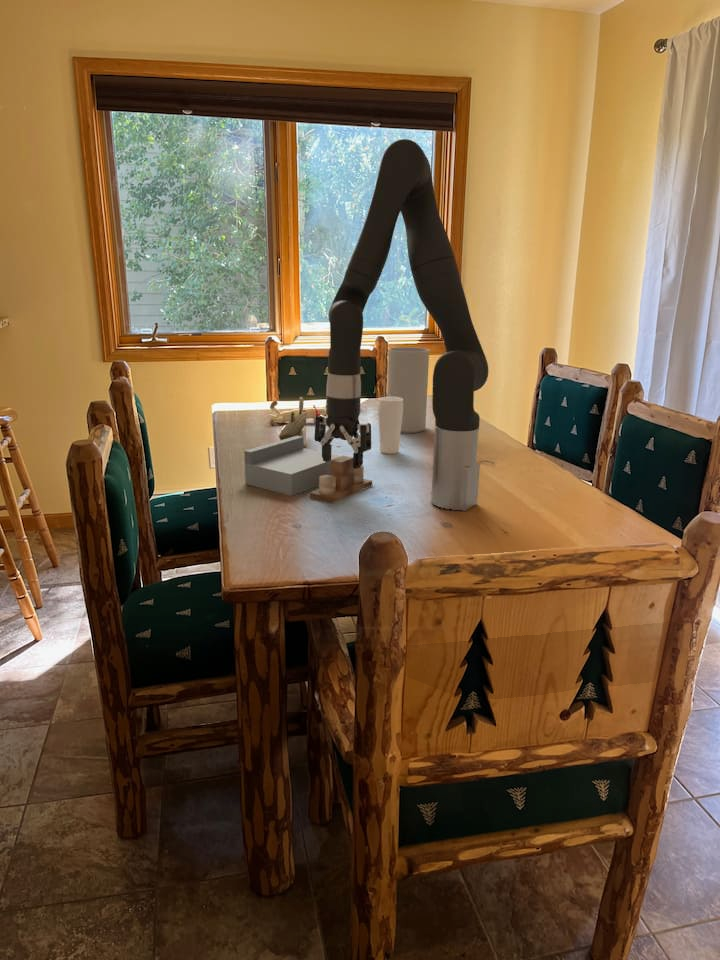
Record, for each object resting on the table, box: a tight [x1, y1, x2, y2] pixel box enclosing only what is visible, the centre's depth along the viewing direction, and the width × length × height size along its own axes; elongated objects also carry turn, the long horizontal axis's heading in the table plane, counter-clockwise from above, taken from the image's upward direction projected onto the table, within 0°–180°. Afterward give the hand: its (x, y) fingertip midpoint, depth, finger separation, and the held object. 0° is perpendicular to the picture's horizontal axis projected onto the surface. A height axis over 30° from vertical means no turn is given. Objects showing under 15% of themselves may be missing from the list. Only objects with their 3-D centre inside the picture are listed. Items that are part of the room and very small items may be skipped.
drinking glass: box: [377, 396, 403, 455], centre depth 188 cm, size 7×7×15 cm
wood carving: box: [278, 396, 308, 449], centre depth 192 cm, size 9×35×11 cm, turn 177°
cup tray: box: [309, 455, 373, 504], centre depth 155 cm, size 16×6×8 cm, turn 146°
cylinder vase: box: [386, 346, 430, 434], centre depth 214 cm, size 12×12×25 cm
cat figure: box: [269, 400, 328, 426], centre depth 222 cm, size 10×9×25 cm
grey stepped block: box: [244, 436, 342, 497], centre depth 163 cm, size 14×19×8 cm
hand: (341, 464), depth 155 cm, fingers open, 8 cm apart
